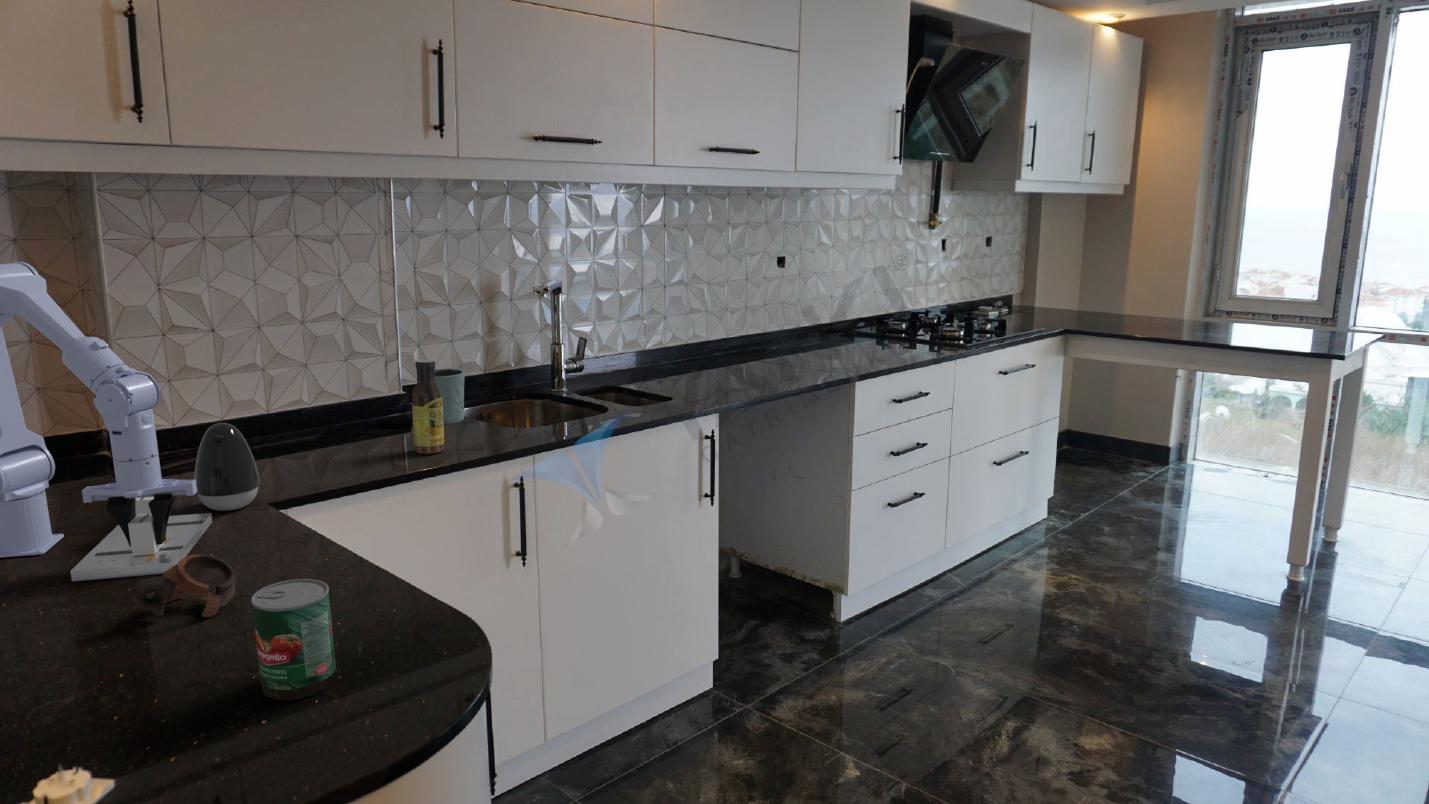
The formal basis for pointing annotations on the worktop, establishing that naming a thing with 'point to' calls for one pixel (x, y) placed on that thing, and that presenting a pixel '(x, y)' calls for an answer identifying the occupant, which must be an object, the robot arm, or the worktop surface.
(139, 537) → the cap
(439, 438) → the sauce bottle
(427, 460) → the worktop surface
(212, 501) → the black egg shape
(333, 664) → the canned tomato
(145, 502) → the far fader cap
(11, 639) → the worktop surface
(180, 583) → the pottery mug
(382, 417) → the worktop surface
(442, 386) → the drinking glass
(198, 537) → the board
